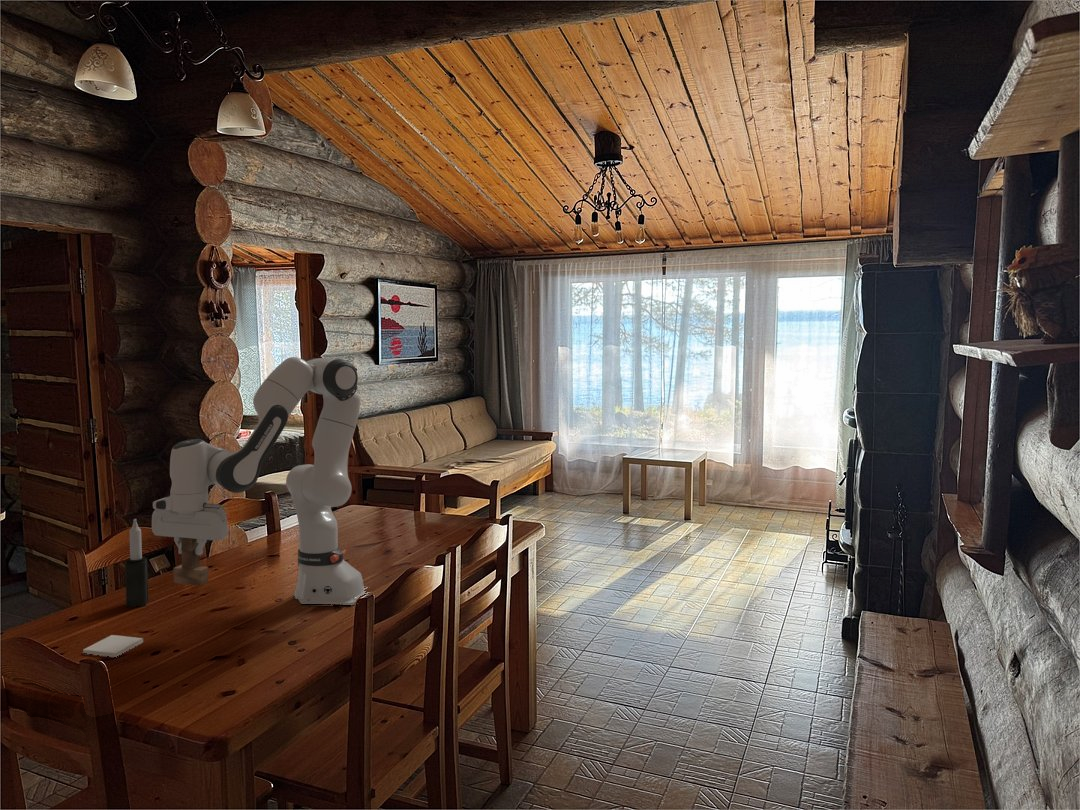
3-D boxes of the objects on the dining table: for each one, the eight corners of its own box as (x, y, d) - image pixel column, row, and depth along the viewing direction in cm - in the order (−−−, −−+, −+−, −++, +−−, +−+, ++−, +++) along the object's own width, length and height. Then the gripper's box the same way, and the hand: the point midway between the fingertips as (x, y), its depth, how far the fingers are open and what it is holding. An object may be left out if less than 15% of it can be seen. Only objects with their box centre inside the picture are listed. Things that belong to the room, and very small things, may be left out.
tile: (142, 638, 180) (115, 653, 171) (143, 644, 180) (115, 659, 171) (111, 634, 181) (83, 649, 173) (112, 640, 182) (83, 655, 173)
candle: (129, 601, 207) (126, 517, 204) (148, 600, 208) (146, 516, 206) (125, 608, 202) (122, 521, 200) (146, 606, 204) (143, 520, 201)
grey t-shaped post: (208, 581, 188) (207, 529, 186) (201, 585, 185) (199, 532, 184) (181, 579, 189) (180, 527, 188) (173, 582, 186) (172, 530, 185)
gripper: (232, 502, 186) (233, 553, 188) (164, 497, 190) (165, 547, 191) (217, 507, 180) (218, 560, 181) (146, 502, 184) (148, 554, 185)
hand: (190, 554), depth 186 cm, fingers closed on grey t-shaped post, 3 cm apart
